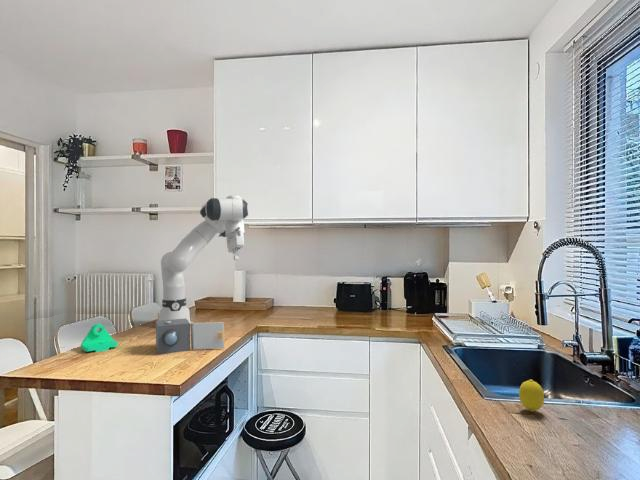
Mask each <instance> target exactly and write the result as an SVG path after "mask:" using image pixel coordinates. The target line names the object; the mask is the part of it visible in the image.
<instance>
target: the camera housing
mask: <svg viewBox="0 0 640 480" xmlns="http://www.w3.org/2000/svg"><path fill="white" fill-rule="evenodd" d="M155 325H156V327H155V350H156V352H157V355H164V354H172V353H180V352H181V353H182V352H191V325H190V323H189V321H188V320H187V319H186V318H184V319H173V320H162V321H158V320H155Z"/></svg>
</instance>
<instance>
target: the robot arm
mask: <svg viewBox="0 0 640 480" xmlns="http://www.w3.org/2000/svg"><path fill="white" fill-rule="evenodd" d="M199 214H200V215H201V217H202V218H203V219H204V220H203V221H201V222H200V223H199V224H198V225H196V226H195V227H194V228H193V229H192V230H190V232H189V233H187V234H186V235H185V236H184V238H183V239H181V241H180V242H179V244H178V245H177V246H176V247H175V248H174V249H173V250H172V251H168V252H166V253H165V254H163V255H162V257H161V259H160V266H161V267H160V269H161V277H162V278H161V279H162V299H161V300H162V301H161V309H160V310H159V312H158V314H157V318H158V320H157V321H162V320H173V319H184V318H186V319H187V320H188V321H189V323H190V326H191V323H194V322H193V321H191V319H190V309H189V308H188V307H187V298H186V281H185V275H184V271H185V270H187V268H188V267H189V265H190V264H191V263H192V262H193V260H194V259H195V258H196V257H197V255H198V254H199V253H200V252H201V251H202V250H204V248H205V247H206V246H207V245H209V243H210V242H211V241H212V240H213V239H214V238H215V236H216V235H217V234H219V235H218V237H219V238H220V237H221V238H226V245H227V246H226V248H227V251H228V253H232V255H233V260H234V261H238V260H239V259H240V250H241V249H242V248H243V247H244V246H245V239H244V235H245V222H244V219H246V218H247V217H248V216H249V211H248V202H247V201H245V199H243V198H242V197H241V196H239V195H236V194H233V195H228V196H226V197H225V198H215V197H211V198H209V199H208V201H206V202H205V203H204V204H203V205H202V206H201V208H200V211H199ZM154 328H156V324H155V327H154Z"/></svg>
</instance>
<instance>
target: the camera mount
mask: <svg viewBox="0 0 640 480" xmlns="http://www.w3.org/2000/svg"><path fill="white" fill-rule="evenodd" d="M98 328H99V330H97V329H98ZM118 346H119V344H118V341H117V340H115V339H113V337H112V336H111V334H110V333H109V332H108V330H107V329H106V328H105V326H104V325H103V324H101V323H95V324H93V325H92V326H91V328H90V329H89V331H88V332H87V334H86V336H85V337H84V339H83V340H82V342H81V343H80V349H81V350H83V351H84V352H95V353H100V352H105V351H109V349H110V348H115V347H118Z"/></svg>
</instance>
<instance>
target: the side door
mask: <svg viewBox="0 0 640 480" xmlns="http://www.w3.org/2000/svg"><path fill="white" fill-rule="evenodd" d="M224 324H225V322H223V321H222V322H221V321H218V322H193V323H191V325H190V350H208V349H209V350H210V349H211V350H216V349H225V326H224Z"/></svg>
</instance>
